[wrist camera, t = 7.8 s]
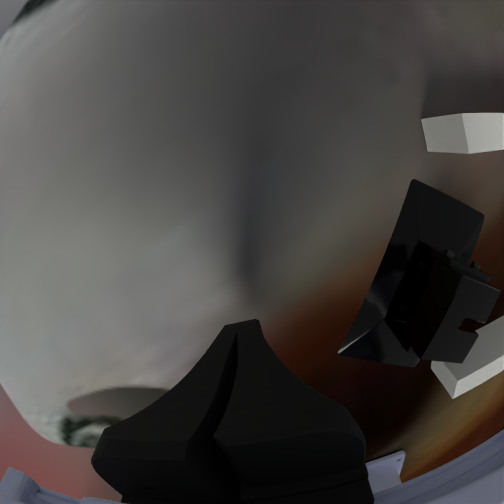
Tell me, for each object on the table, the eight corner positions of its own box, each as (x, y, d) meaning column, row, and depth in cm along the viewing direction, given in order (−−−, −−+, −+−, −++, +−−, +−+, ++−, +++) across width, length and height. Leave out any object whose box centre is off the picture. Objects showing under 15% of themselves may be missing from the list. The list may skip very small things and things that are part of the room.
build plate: (407, 378, 16) (436, 429, 11) (305, 365, 15) (319, 431, 11) (494, 193, 12) (553, 211, 7) (396, 134, 11) (458, 129, 7)
